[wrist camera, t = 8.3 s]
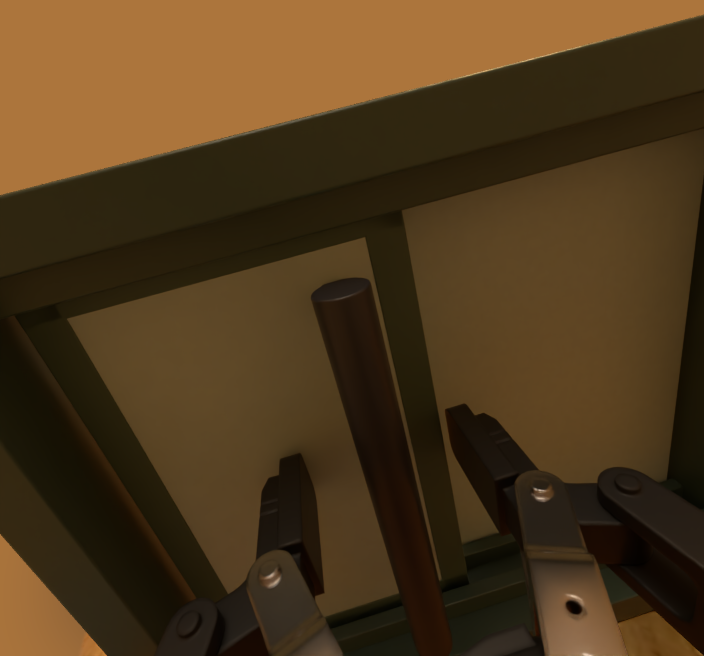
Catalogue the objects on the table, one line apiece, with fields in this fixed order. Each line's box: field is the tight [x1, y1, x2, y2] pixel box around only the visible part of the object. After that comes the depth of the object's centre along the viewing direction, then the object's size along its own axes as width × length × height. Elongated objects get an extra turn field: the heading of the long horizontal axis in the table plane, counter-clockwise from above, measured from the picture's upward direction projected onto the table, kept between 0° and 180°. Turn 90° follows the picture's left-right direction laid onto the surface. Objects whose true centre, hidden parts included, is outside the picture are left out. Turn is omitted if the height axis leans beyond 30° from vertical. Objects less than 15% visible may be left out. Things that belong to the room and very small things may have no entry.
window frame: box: [0, 15, 704, 656], centre depth 14 cm, size 26×5×22 cm, turn 99°
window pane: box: [15, 210, 469, 656], centre depth 13 cm, size 11×4×18 cm, turn 99°
